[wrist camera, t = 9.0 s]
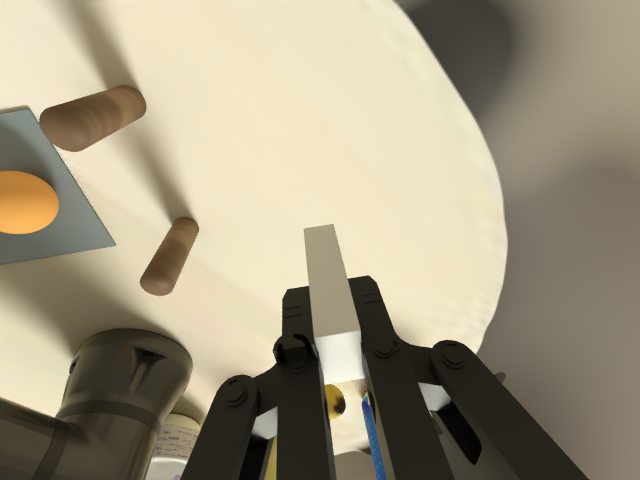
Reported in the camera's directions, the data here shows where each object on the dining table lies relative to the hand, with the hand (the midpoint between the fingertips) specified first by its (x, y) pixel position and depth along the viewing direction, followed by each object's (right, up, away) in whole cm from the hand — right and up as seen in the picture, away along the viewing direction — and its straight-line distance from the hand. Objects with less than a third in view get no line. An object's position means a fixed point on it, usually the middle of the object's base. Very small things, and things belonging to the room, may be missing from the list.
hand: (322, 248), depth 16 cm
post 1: (-16, +12, +10) cm, 22 cm away
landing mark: (-30, +4, +13) cm, 33 cm away
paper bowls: (-27, -33, +40) cm, 58 cm away
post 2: (-15, +2, +17) cm, 22 cm away
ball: (-27, +4, +11) cm, 29 cm away
